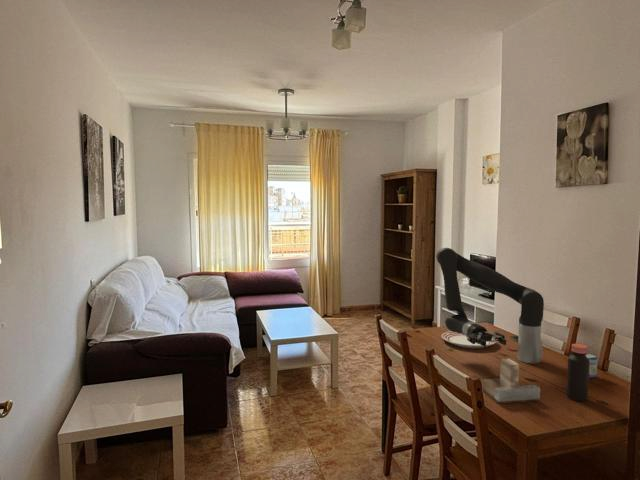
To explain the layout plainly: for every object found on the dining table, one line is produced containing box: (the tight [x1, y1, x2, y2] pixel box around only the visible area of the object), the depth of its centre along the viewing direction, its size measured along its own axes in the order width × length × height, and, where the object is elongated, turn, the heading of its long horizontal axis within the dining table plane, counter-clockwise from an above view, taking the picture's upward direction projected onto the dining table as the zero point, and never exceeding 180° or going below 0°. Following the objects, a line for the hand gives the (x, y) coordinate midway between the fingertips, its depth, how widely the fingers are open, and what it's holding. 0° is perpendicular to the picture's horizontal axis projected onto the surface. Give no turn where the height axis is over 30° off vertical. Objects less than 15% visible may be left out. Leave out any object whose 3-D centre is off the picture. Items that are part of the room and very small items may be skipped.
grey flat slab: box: [480, 377, 539, 405], centre depth 158 cm, size 16×18×1 cm
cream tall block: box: [499, 358, 520, 387], centre depth 154 cm, size 4×6×12 cm, turn 9°
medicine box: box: [586, 353, 598, 379], centre depth 173 cm, size 8×4×9 cm, turn 107°
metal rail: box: [494, 384, 541, 402], centre depth 149 cm, size 16×3×4 cm, turn 98°
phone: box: [509, 335, 518, 343], centre depth 218 cm, size 8×1×15 cm
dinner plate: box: [441, 330, 498, 349], centre depth 217 cm, size 28×27×3 cm
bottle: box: [565, 343, 590, 403], centre depth 152 cm, size 7×7×20 cm
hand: (495, 343), depth 164 cm, fingers open, 8 cm apart
